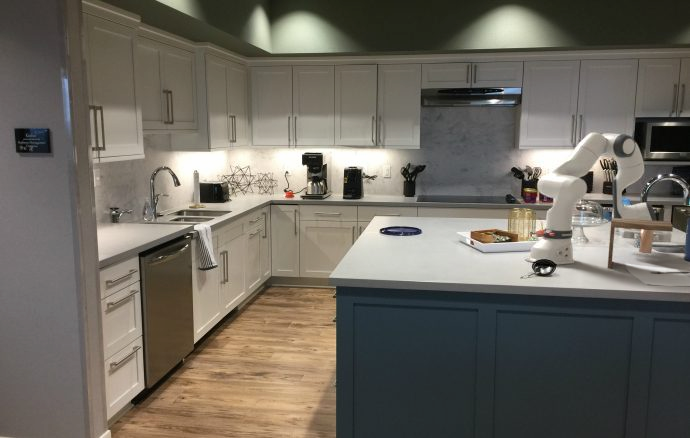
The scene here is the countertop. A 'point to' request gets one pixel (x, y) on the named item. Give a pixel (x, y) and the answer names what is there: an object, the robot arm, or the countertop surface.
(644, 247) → the jar
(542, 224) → the cupcake
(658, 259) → the countertop surface
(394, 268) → the countertop surface
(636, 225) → the shelf
